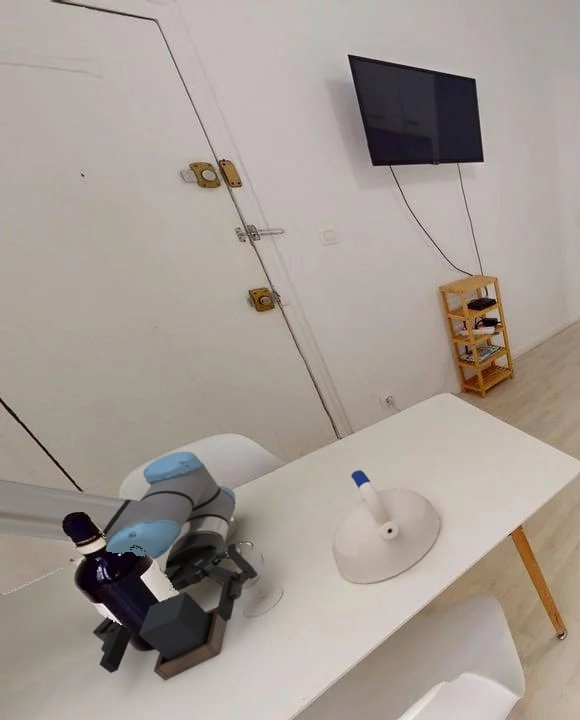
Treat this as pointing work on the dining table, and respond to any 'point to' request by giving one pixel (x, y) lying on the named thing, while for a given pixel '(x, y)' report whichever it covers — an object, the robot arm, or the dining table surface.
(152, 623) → the dark gray block
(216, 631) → the tray
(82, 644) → the dining table surface
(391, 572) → the white plastic funnel
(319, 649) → the dining table surface
